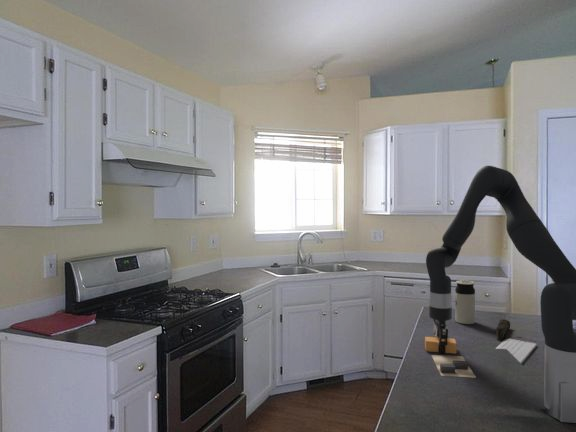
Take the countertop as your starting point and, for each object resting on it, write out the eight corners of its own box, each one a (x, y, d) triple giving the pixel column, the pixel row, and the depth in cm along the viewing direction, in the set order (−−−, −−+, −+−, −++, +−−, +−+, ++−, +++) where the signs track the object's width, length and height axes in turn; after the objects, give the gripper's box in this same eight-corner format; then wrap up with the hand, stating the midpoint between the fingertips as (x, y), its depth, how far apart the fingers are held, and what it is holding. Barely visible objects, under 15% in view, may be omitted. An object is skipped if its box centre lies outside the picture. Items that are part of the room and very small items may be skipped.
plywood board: (476, 382, 123) (476, 377, 123) (440, 380, 125) (440, 375, 125) (462, 360, 140) (462, 356, 140) (431, 359, 142) (431, 354, 142)
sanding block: (456, 357, 143) (456, 343, 143) (425, 355, 145) (425, 341, 145) (454, 352, 148) (454, 338, 147) (424, 350, 150) (425, 336, 150)
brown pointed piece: (499, 327, 176) (499, 316, 176) (510, 329, 174) (510, 318, 174) (490, 340, 161) (490, 328, 161) (501, 342, 159) (501, 330, 159)
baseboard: (474, 364, 138) (514, 374, 130) (475, 355, 138) (514, 364, 130) (501, 340, 161) (536, 347, 153) (501, 333, 161) (536, 339, 153)
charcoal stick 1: (455, 373, 126) (455, 367, 126) (441, 372, 127) (441, 366, 127) (453, 370, 128) (453, 364, 128) (440, 370, 129) (440, 363, 129)
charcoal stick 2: (467, 369, 129) (467, 363, 129) (454, 369, 129) (454, 362, 129) (466, 367, 131) (466, 361, 131) (452, 366, 131) (452, 360, 131)
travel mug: (476, 321, 185) (476, 281, 185) (473, 325, 179) (473, 284, 178) (457, 318, 190) (457, 279, 189) (453, 323, 183) (453, 282, 182)
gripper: (456, 310, 138) (456, 360, 139) (447, 300, 152) (447, 345, 153) (432, 309, 139) (432, 359, 140) (426, 299, 154) (426, 344, 154)
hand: (440, 352), depth 146 cm, fingers closed on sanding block, 5 cm apart
